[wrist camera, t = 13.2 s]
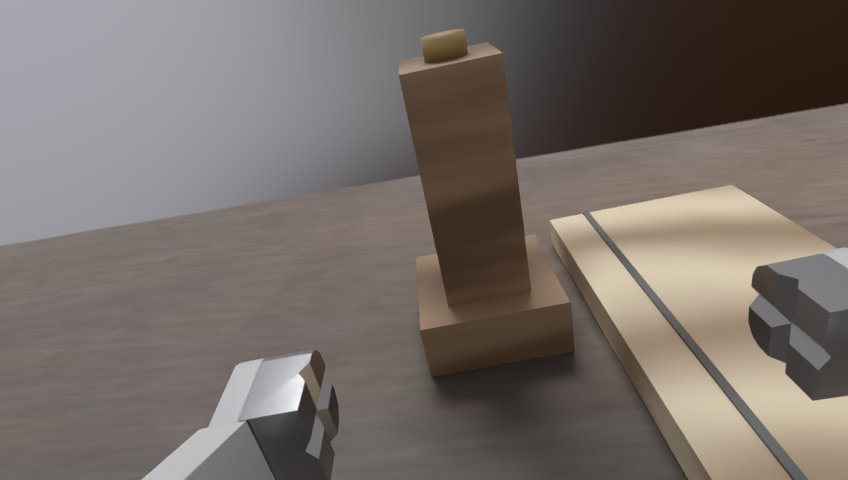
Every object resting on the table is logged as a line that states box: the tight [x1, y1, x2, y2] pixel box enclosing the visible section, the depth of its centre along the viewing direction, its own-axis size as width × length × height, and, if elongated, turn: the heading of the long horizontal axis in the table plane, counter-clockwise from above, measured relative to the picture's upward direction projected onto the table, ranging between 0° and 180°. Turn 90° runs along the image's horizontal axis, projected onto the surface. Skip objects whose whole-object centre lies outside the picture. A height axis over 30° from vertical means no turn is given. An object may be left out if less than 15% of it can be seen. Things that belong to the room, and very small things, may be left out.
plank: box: [550, 185, 848, 480], centre depth 17 cm, size 24×10×2 cm, turn 2°
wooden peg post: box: [399, 29, 574, 377], centre depth 21 cm, size 6×6×13 cm
